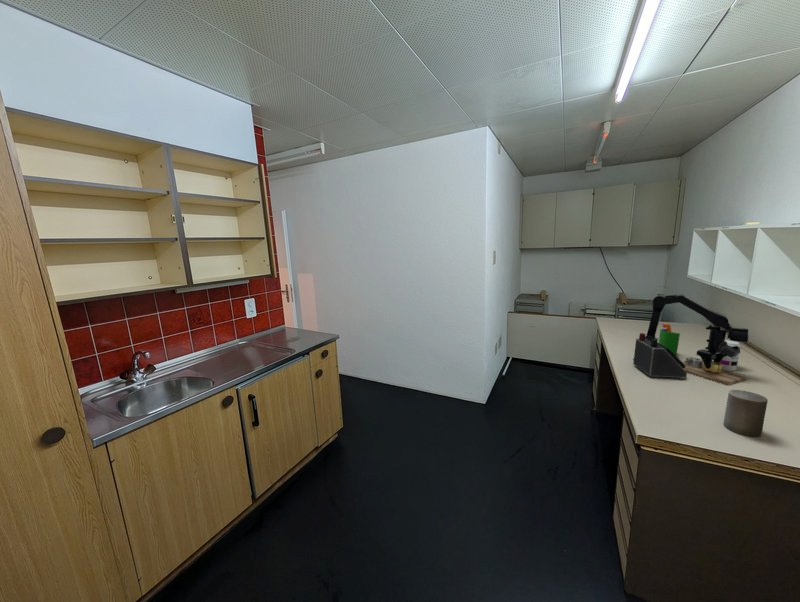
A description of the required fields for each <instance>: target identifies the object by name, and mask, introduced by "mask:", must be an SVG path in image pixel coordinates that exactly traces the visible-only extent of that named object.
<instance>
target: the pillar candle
mask: <svg viewBox="0 0 800 602" xmlns="http://www.w3.org/2000/svg"><path fill="white" fill-rule="evenodd" d="M726 400H727V401H726V405H725V406H726V407H725V411H724V416H723V417H724V419H723V427H724V428H726V429H727V430H730V431H731V432H734V433H736V434H739V435H742V436H746V437H751V438H759V437H762V434H763V430H764V429H763V428H764V423H765V416H766V412H767V408H768V407H767V406H768V398H767V397H765V396H764V395H761V394H758V393H756V392H752V391H748V390H742V389H729V390H728V395H727V399H726Z"/></svg>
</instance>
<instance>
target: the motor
mask: <svg viewBox="0 0 800 602" xmlns="http://www.w3.org/2000/svg"><path fill="white" fill-rule="evenodd" d="M680 336H681V333H680V332H679V333H678V332H673V331H672V327H671V324H669V323H663V324H662V328H660V331H659V338H658V343H659V344H661V345H663V346H665V347H667V348H669V349H670V350H671V351H672V352H673V353H674V354H675V355H676V356H677V354H678V349H679V348H678V347H679V342H680Z"/></svg>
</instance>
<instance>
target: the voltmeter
mask: <svg viewBox="0 0 800 602" xmlns="http://www.w3.org/2000/svg"><path fill="white" fill-rule="evenodd" d="M645 337H646V333H643V332H641V333H639V336H638V338H635V347H634V354H633V355H634V356H633V359H634V360H633V363H632V364H633V365H634V366H635V367H636V368H637V369H639V370H641V371H642V372H644V373H645V374H646V375H648V377H649V378H655V377H659V378H660V377H665V378H675V379H676V380H682V378H683V379H684V378H685V379H686V378H687V376H688V373H687V372H686V371H685V370H684V369H683V368H685V367H686V366H685V365H684V364H683V363H682V362H683V361H682V360H681V359H680V358H679V357H678V356H677V355H675V354H674V353H673V352H672V351H671V350H670V349H669V348H667V347H665V346H663V345H661V344H659V339H658V340H656V339H651V342H650V341H648V340H647V339H645Z"/></svg>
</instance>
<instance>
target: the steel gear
mask: <svg viewBox="0 0 800 602" xmlns="http://www.w3.org/2000/svg"><path fill="white" fill-rule="evenodd" d="M693 358H694V357H691V356H688V357H685V361H686V363H685V365H687V366H688V367H692V368H698V369H700V368H703V363H704V362H703V360H702V359H701V358H697V357H696V358H697V360H693Z"/></svg>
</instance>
